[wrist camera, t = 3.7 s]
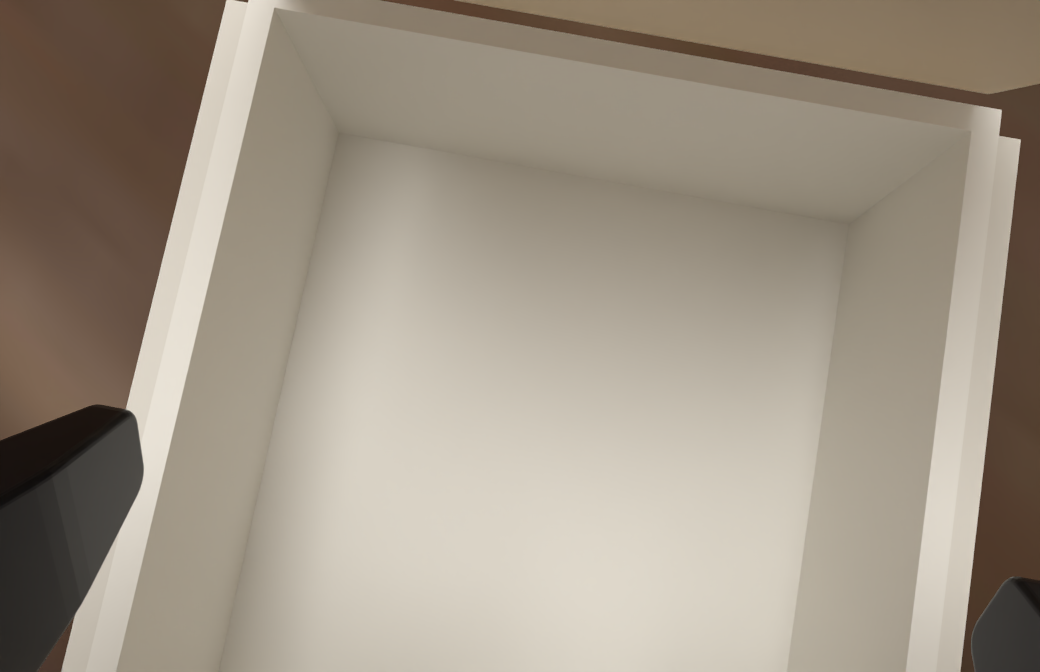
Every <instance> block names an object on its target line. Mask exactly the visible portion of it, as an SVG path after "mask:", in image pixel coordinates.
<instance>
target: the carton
mask: <svg viewBox="0 0 1040 672" xmlns="http://www.w3.org/2000/svg"><path fill="white" fill-rule="evenodd" d="M1001 113H1002V110H998V109H993V108H987V107H981V106H976V105H970V104H964V103H959V102H953V101H947V100H942V99H936V98H930V97H925V96H919V95H913V94H908V93H902V92H896V91H891V90H885V89H879V88H874V87H868V86H862V85H857V84H851V83H845V82H840V81H834V80H828V79H823V78H817V77H811V76H806V75H800V74H794V73H789V72H783V71H777V70H772V69H766V68H760V67H755V66H749V65H743V64H738V63H732V62H726V61H721V60H715V59H709V58H704V57H698V56H692V55H687V54H681V53H675V52H670V51H664V50H658V49H653V48H647V47H641V46H636V45H630V44H624V43H619V42H613V41H607V40H602V39H596V38H590V37H585V36H579V35H573V34H568V33H562V32H556V31H551V30H545V29H539V28H534V27H528V26H522V25H517V24H511V23H505V22H500V21H494V20H488V19H483V18H477V17H471V16H466V15H460V14H454V13H449V12H443V11H437V10H432V9H426V8H420V7H415V6H409V5H403V4H398V3H392V2H386V1H381V0H249V1H248V3H246V2H240V1H234V0H227V1H226V5H225V9H224V13H223V17H222V21H221V25H220V29H219V34H218V38H217V42H216V46H215V50H214V54H213V58H212V62H211V66H210V70H209V74H208V78H207V82H206V86H205V90H204V94H203V98H202V103H201V107H200V111H199V115H198V119H197V123H196V127H195V131H194V135H193V139H192V143H191V147H190V151H189V155H188V159H187V163H186V167H185V172H184V176H183V180H182V184H181V188H180V192H179V196H178V200H177V204H176V208H175V212H174V216H173V220H172V224H171V228H170V232H169V236H168V241H167V245H166V249H165V253H164V257H163V261H162V265H161V269H160V273H159V277H158V281H157V285H156V289H155V293H154V297H153V301H152V305H151V310H150V314H149V318H148V322H147V326H146V330H145V334H144V338H143V342H142V346H141V350H140V354H139V358H138V362H137V366H136V370H135V375H134V379H133V383H132V387H131V391H130V395H129V399H128V403H127V407H126V410H129V411H131V412H132V413H133V414H134V415H135V417H136V419H137V423H138V430H139V437H140V443H141V450H142V457H143V463H144V475H143V481H142V485H141V488H140V491H139V493H138V495H137V497H136V499H135V501H134V503H133V505H132V507H131V509H130V511H129V513H128V515H127V517H126V519H125V521H124V523H123V525H122V527H121V529H120V531H119V533H118V535H117V537H116V539H115V541H114V543H113V545H112V547H111V549H110V551H109V553H108V555H107V557H106V559H105V560H104V562H103V564H102V566H101V568H100V570H99V572H98V574H97V576H96V578H95V580H94V582H93V584H92V586H91V588H90V590H89V592H88V594H87V595H86V597H85V599H84V601H83V603H82V605H81V606H80V608H79V609H78V611H77V612H76V614H75V618H74V622H73V626H72V630H71V634H70V638H69V642H68V646H67V651H66V655H65V659H64V663H63V667H62V671H61V672H960V670H961V661H962V652H963V643H964V634H965V626H966V617H967V608H968V599H969V590H970V582H971V573H972V564H973V555H974V546H975V538H976V529H977V520H978V511H979V502H980V494H981V485H982V476H983V467H984V458H985V450H986V441H987V432H988V423H989V414H990V406H991V397H992V388H993V379H994V370H995V362H996V353H997V344H998V335H999V326H1000V318H1001V309H1002V300H1003V291H1004V282H1005V274H1006V265H1007V256H1008V247H1009V238H1010V230H1011V221H1012V212H1013V203H1014V194H1015V186H1016V177H1017V168H1018V159H1019V150H1020V141H1021V140H1019V139H1014V138H1008V137H1002V136H999V130H1000V122H1001Z"/></svg>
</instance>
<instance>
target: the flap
mask: <svg viewBox="0 0 1040 672" xmlns="http://www.w3.org/2000/svg"><path fill="white" fill-rule="evenodd" d="M456 1H462V2H467V3H473V4H479V5H485V6H490V7H496V8H502V9H507V10H513V11H519V12H524V13H530V14H536V15H541V16H547V17H553V18H558V19H564V20H570V21H575V22H581V23H587V24H592V25H598V26H604V27H609V28H615V29H621V30H626V31H632V32H638V33H644V34H649V35H655V36H661V37H666V38H672V39H678V40H683V41H689V42H695V43H700V44H706V45H712V46H717V47H723V48H729V49H734V50H740V51H746V52H751V53H757V54H763V55H768V56H774V57H780V58H785V59H791V60H797V61H803V62H808V63H814V64H820V65H825V66H831V67H837V68H842V69H848V70H854V71H859V72H865V73H871V74H876V75H882V76H888V77H893V78H899V79H905V80H910V81H916V82H922V83H927V84H933V85H939V86H944V87H950V88H956V89H961V90H967V91H973V92H979V93H984V94H992V93H997V92H1002V91H1006V90H1011V89H1016V88H1021V87H1026V86H1031V85H1036V84H1040V0H456Z"/></svg>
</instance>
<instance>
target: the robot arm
mask: <svg viewBox="0 0 1040 672" xmlns="http://www.w3.org/2000/svg"><path fill="white" fill-rule="evenodd" d="M143 475H144V463H143V457H142V450H141V443H140V437H139V430H138V423H137V419H136V417H135V415H134V414H133V413H132V412H131V411H129V410H126V409H121V408H115V407H110V406H105V405H92V406H88V407H86V408H83V409H81V410H78V411H75V412H73V413H70V414H68V415H65V416H62V417H60V418H57V419H55V420H52V421H50V422H47V423H44V424H42V425H39V426H37V427H34V428H31V429H29V430H26V431H24V432H21V433H18V434H16V435H13V436H11V437H8V438H6V439H3V440H0V672H38V670H39V669H40V667H41V666H42V664H43V663H44V661H45V660H46V658H47V657H48V655H49V654H50V652H51V651H52V649H53V648H54V646H55V645H56V643H57V642H58V640H59V639H60V637H61V636H62V634H63V633H64V631H65V630H66V628H67V627H68V625H69V624H70V622H71V620H72V619H73V617H74V616H75V614H76V612H77V611H78V609H79V608H80V606H81V605H82V603H83V601H84V599H85V597H86V595H87V594H88V592H89V590H90V588H91V586H92V584H93V582H94V580H95V578H96V576H97V574H98V572H99V570H100V568H101V566H102V564H103V562H104V560H105V559H106V557H107V555H108V553H109V551H110V549H111V547H112V545H113V543H114V541H115V539H116V537H117V535H118V533H119V531H120V529H121V527H122V525H123V523H124V521H125V519H126V517H127V515H128V513H129V511H130V509H131V507H132V505H133V503H134V501H135V499H136V497H137V495H138V493H139V491H140V488H141V485H142V481H143ZM971 652H972V658H973V664H974V669H975V672H1040V581H1039V580H1033V579H1028V578H1023V577H1011V578H1009V579H1007V580H1006V581H1005V582H1004V583H1003V584H1002V585H1001V587H1000V588H999V590H998V591H997V593H996V594H995V596H994V597H993V599H992V600H991V601H990V603H989V604H988V606H987V607H986V609H985V610H984V612H983V613H982V615H981V616H980V618H979V619H978V621H977V622H976V624H975V626H974V629H973V632H972V638H971Z"/></svg>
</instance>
